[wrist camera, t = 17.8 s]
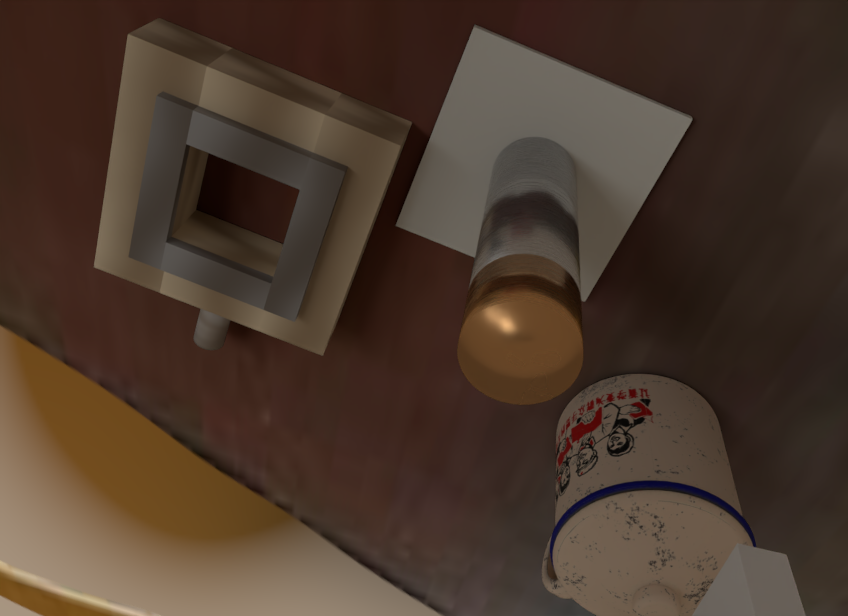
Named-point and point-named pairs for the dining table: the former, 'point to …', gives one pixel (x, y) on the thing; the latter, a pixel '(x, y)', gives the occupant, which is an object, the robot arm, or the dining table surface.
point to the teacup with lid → (641, 499)
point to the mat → (549, 118)
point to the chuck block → (255, 150)
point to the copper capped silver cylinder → (526, 279)
